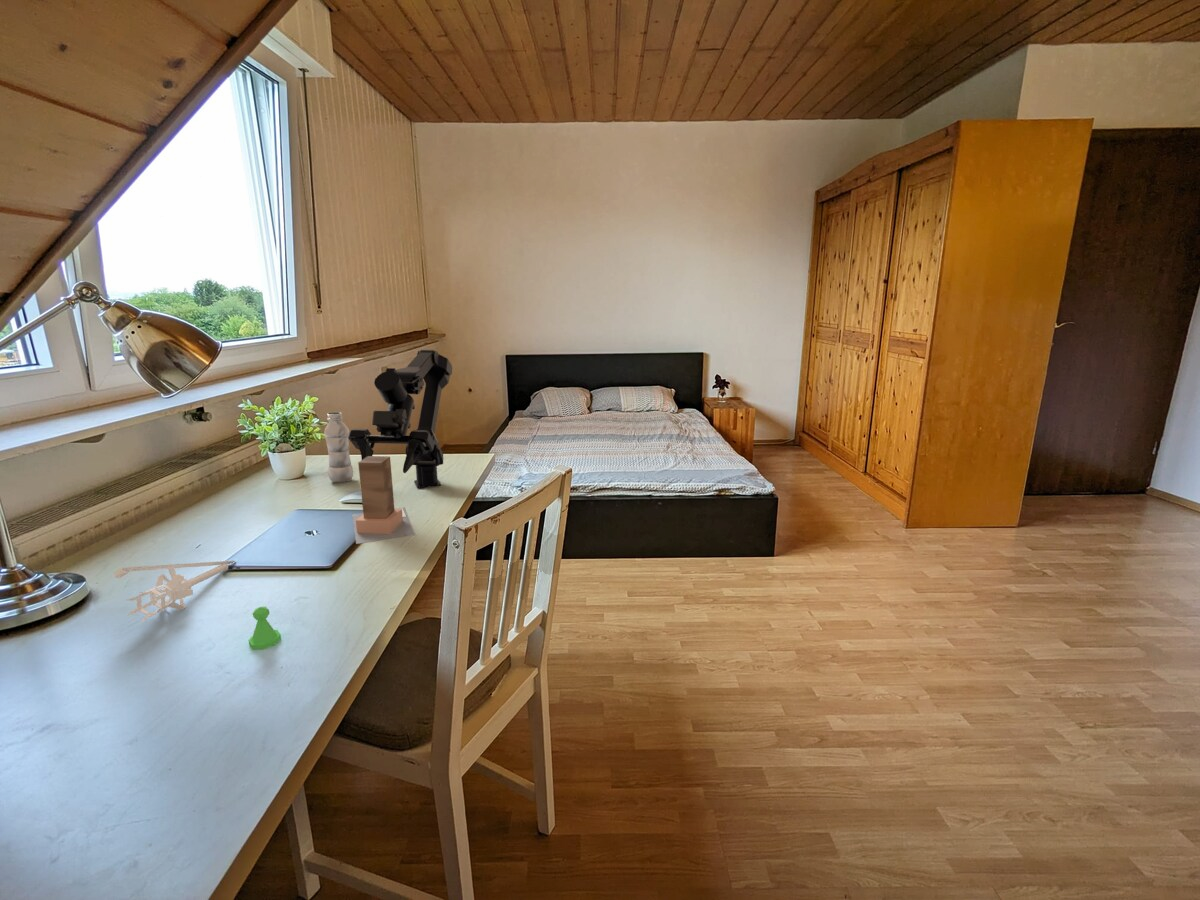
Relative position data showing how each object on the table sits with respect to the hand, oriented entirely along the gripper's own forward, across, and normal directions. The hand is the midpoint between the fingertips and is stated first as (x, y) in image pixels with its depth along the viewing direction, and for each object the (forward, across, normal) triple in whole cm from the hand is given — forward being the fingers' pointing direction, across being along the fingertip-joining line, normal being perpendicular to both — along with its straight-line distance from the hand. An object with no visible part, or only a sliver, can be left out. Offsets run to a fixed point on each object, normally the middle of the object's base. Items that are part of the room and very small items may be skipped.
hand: (384, 471), depth 128 cm
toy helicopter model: (+34, -21, -16) cm, 43 cm away
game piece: (+42, -1, -25) cm, 49 cm away
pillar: (+9, 0, +3) cm, 10 cm away
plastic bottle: (-11, -25, +30) cm, 40 cm away
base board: (+11, 0, +7) cm, 13 cm away
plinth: (+12, 0, +5) cm, 13 cm away
